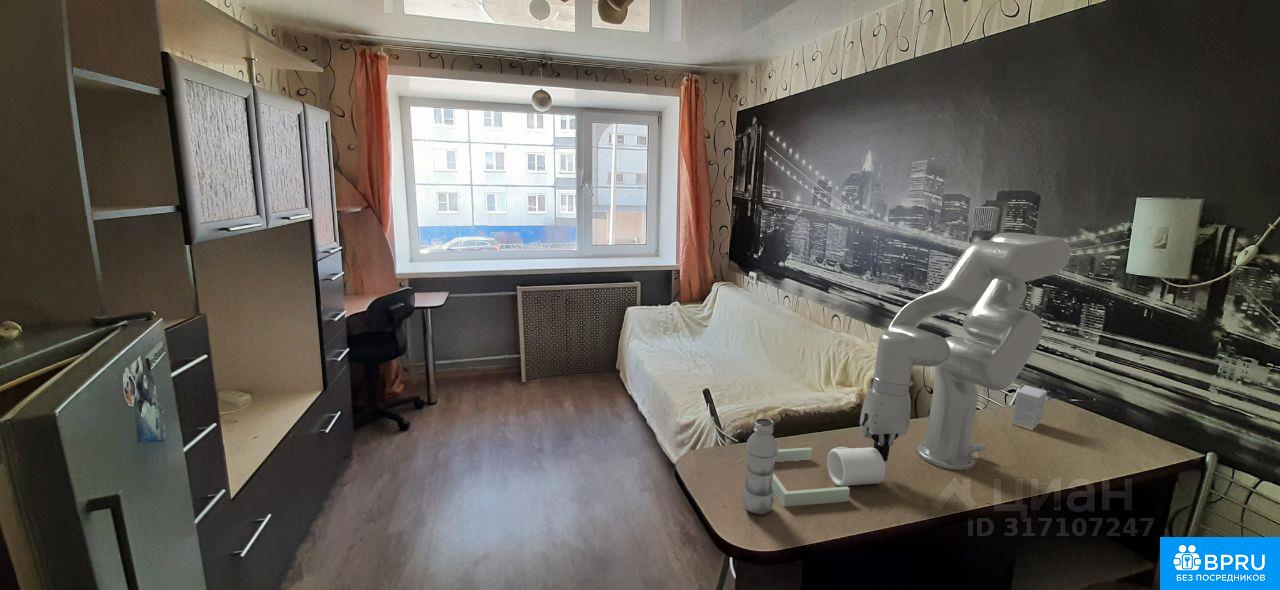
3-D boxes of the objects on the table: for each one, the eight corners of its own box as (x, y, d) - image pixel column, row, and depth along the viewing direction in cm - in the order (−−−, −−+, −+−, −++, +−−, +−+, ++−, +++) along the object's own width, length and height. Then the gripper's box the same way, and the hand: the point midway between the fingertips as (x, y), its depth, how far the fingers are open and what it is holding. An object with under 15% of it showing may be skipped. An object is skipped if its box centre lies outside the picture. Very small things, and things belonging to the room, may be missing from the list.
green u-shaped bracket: (809, 458, 132) (810, 447, 131) (848, 501, 114) (849, 489, 114) (752, 462, 129) (753, 451, 129) (783, 506, 112) (784, 494, 111)
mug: (883, 490, 119) (887, 458, 117) (842, 493, 117) (846, 461, 116) (854, 462, 131) (858, 433, 129) (817, 464, 129) (820, 435, 127)
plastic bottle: (778, 508, 111) (786, 421, 107) (762, 523, 106) (770, 433, 102) (751, 495, 116) (758, 412, 111) (735, 509, 111) (741, 422, 106)
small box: (1018, 417, 158) (1024, 384, 156) (1040, 423, 154) (1047, 390, 152) (1010, 424, 153) (1016, 391, 151) (1033, 431, 149) (1040, 397, 146)
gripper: (909, 378, 125) (898, 448, 129) (851, 380, 123) (842, 452, 127) (931, 391, 118) (918, 465, 122) (870, 393, 115) (860, 468, 119)
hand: (879, 458), depth 124 cm, fingers closed
